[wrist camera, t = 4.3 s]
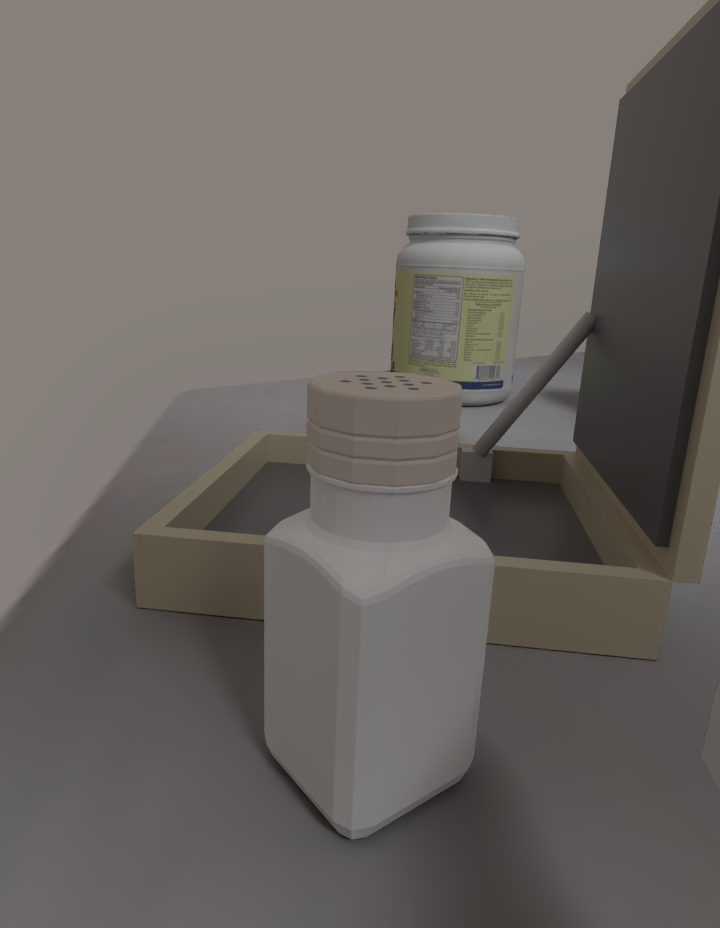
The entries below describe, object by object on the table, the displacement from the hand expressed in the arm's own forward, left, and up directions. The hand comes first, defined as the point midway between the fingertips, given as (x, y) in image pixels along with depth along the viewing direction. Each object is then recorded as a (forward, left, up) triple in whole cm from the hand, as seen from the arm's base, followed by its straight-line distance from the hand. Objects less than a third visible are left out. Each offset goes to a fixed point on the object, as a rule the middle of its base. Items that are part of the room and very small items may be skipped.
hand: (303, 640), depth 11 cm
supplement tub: (-35, -44, -6) cm, 57 cm away
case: (-11, -14, -6) cm, 19 cm away
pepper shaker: (-3, -3, -6) cm, 7 cm away
